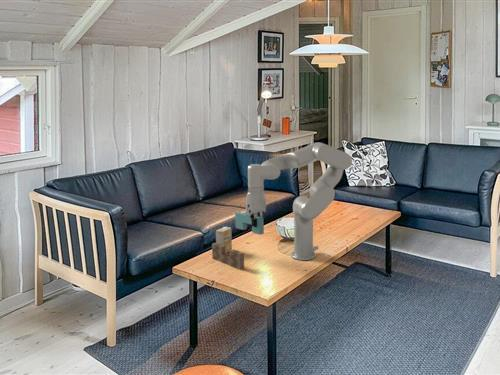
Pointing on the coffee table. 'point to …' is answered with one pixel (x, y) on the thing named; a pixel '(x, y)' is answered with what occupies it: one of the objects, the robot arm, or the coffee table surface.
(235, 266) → the brown flat notched block
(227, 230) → the supplement box
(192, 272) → the coffee table surface
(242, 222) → the teal plate
